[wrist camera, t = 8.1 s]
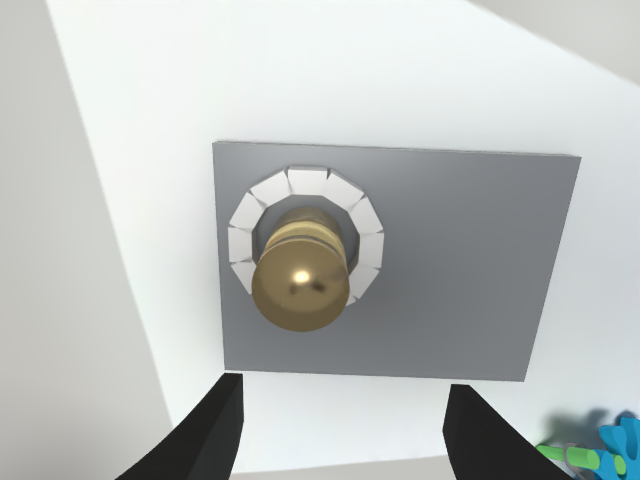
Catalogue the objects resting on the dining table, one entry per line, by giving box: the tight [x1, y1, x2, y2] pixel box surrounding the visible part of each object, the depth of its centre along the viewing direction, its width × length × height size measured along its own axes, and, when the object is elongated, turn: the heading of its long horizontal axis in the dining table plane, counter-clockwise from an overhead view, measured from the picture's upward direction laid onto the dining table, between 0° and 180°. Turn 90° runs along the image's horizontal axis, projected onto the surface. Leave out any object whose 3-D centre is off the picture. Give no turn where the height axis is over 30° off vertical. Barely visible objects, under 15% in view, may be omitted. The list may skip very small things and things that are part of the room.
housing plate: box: [212, 142, 582, 382], centre depth 21 cm, size 19×14×2 cm
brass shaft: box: [251, 207, 350, 332], centre depth 18 cm, size 4×4×6 cm
